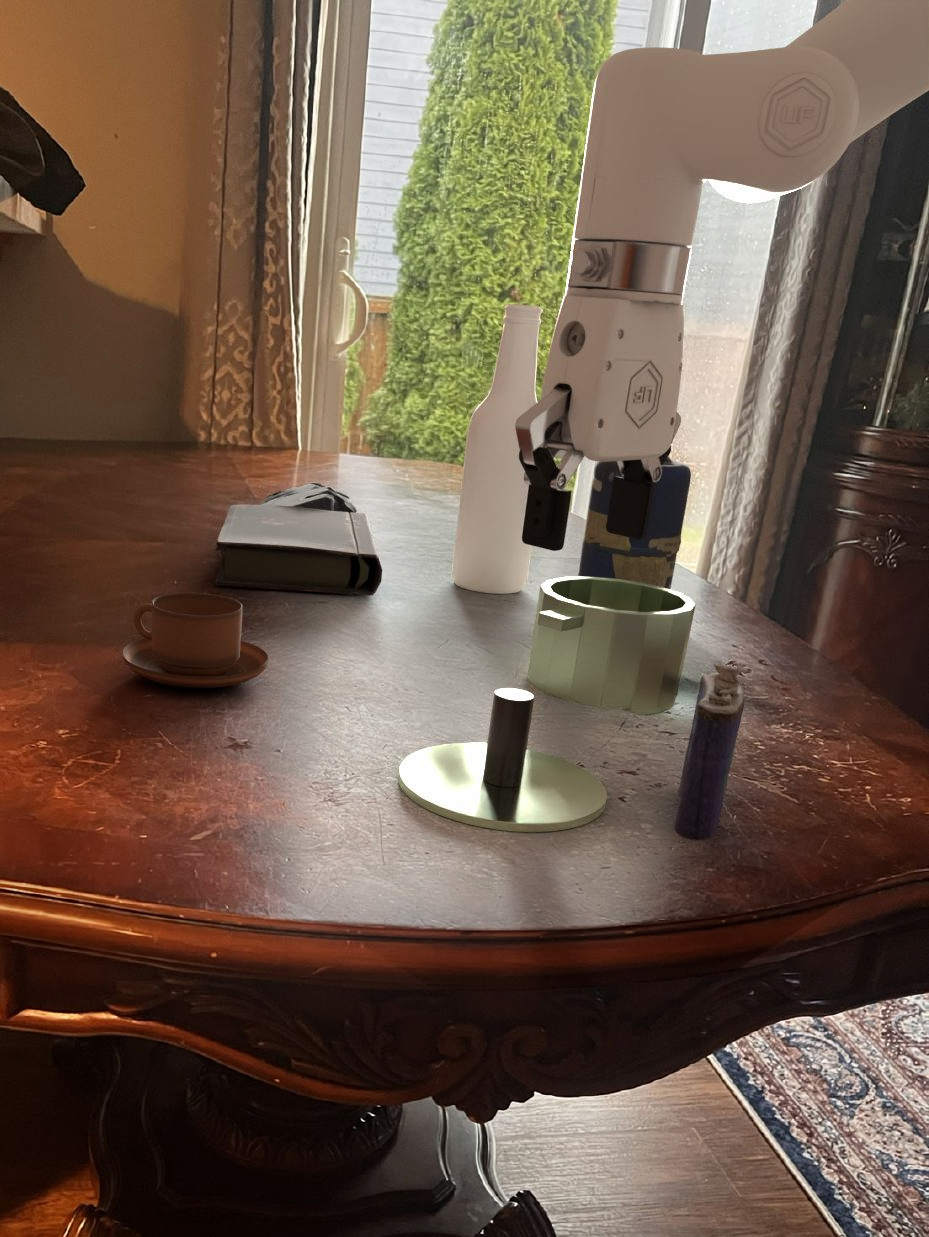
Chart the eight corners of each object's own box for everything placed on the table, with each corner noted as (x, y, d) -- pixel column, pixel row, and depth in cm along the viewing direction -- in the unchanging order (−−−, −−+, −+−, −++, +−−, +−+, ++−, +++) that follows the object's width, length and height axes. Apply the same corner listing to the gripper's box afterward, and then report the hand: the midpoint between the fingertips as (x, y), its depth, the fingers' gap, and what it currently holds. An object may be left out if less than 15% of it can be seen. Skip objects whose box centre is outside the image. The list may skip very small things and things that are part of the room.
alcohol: (507, 576, 141) (544, 306, 129) (538, 595, 133) (580, 309, 121) (439, 576, 138) (469, 301, 126) (466, 594, 131) (501, 303, 119)
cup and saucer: (103, 690, 92) (102, 614, 90) (145, 649, 103) (145, 580, 101) (252, 707, 91) (255, 630, 89) (278, 663, 102) (282, 594, 100)
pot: (718, 693, 103) (739, 598, 100) (600, 732, 92) (619, 626, 88) (599, 656, 111) (615, 568, 108) (477, 687, 100) (490, 589, 96)
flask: (675, 791, 81) (707, 642, 77) (719, 799, 80) (754, 649, 76) (668, 844, 73) (703, 681, 69) (717, 853, 72) (755, 689, 68)
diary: (368, 551, 149) (371, 511, 147) (380, 598, 126) (384, 552, 124) (222, 541, 148) (223, 500, 146) (207, 587, 125) (208, 540, 123)
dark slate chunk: (361, 509, 177) (363, 477, 175) (363, 537, 157) (366, 501, 155) (260, 501, 177) (261, 469, 175) (249, 528, 157) (250, 492, 155)
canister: (673, 643, 118) (709, 459, 111) (580, 636, 118) (610, 451, 110) (648, 618, 127) (680, 446, 119) (561, 612, 126) (588, 439, 119)
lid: (645, 807, 78) (665, 706, 75) (516, 861, 69) (533, 748, 66) (486, 744, 87) (499, 651, 84) (354, 784, 78) (363, 682, 75)
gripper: (594, 270, 68) (551, 563, 75) (747, 286, 79) (697, 541, 86) (495, 265, 73) (463, 540, 80) (652, 281, 84) (612, 522, 91)
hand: (584, 540), depth 83 cm, fingers open, 9 cm apart
